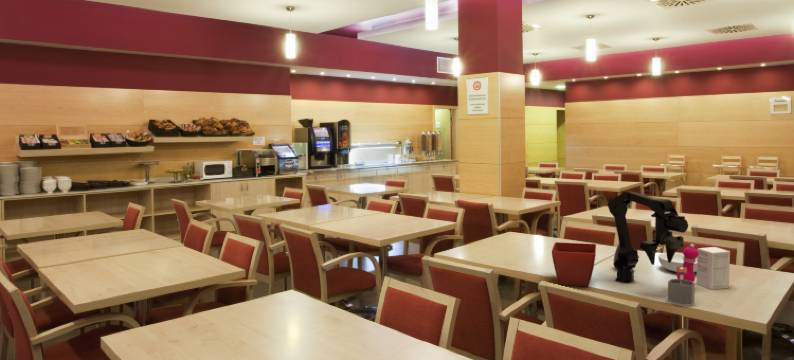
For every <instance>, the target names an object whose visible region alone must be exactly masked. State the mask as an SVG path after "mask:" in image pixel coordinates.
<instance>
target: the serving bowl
mask: <svg viewBox="0 0 794 360" xmlns="http://www.w3.org/2000/svg"><path fill="white" fill-rule="evenodd" d="M683 257H684V254H683V252H677V251H676V252H675V254H674V256H673V258H672V261H671V263H669V262H668V260H667V253H666V252H663V253H659V254H658V256H657V258H658V262H659V264H660V266H662V267H663V268H664V269H666V270H669V271H671V272H674V273H677V267H678V266H683V263H684V260H683ZM695 259H696V260H695V261H696V262H695V263H694V265H693V270H694V273H697V258H695Z"/></svg>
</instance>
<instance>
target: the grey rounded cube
mask: <svg viewBox="0 0 794 360" xmlns="http://www.w3.org/2000/svg"><path fill="white" fill-rule="evenodd" d="M677 282H678V283H680V279H678V278H671V279H669V280H668V281H667V303H669V304H671V305H673V306H677V307H678V306H680V307H692V306H694V305H695V294H696V291H695V289H696V287H695V284H696V283H695V282H691V281H689V280H683V283H686V284H689V285H678V284H674V283H677Z"/></svg>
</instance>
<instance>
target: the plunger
mask: <svg viewBox="0 0 794 360" xmlns="http://www.w3.org/2000/svg"><path fill="white" fill-rule="evenodd" d="M676 273H679V274H680V283H678V282H677V283H674V284H678V285H689V284H686V283H683V274H687V268H686V267H682V266H678V267H677V272H676Z"/></svg>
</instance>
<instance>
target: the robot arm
mask: <svg viewBox="0 0 794 360" xmlns="http://www.w3.org/2000/svg"><path fill="white" fill-rule="evenodd" d="M632 202H633V203H635V204H639V205H643V206H645V207H647V208H649V209H650V210H651V211H652V212H653V213H652V214H651V216H650V217H651V218H655V220H654V229H652V233H654V238H652V239H651V240H652V241H650V240H647V241H641V242H640V244H639V248H640V249H642V251H644V252H645V254H646V256H647V258H648V260H649V263H650V264H651V265H652V266H654V265H655V260H656V254H657V252H658V250H657V249H658V248H660V247H665V251H666V252H665V253H667V260H668V262H669V263H671V261H672V258H673V256H674V254H675V252H676V253H677V251H678V250H680V249H681V248H683V247H684V243H685V242H684V236H682V235H677V236H674V235H673V232H677V233H682V234H683V233H685V232H687V231H688V229H689V222H688V220H686V217H685V216H684V215H679V213H678V211H677V210H676V207H675V206H674V205H673V201H672V200H670V199H669V198H668V199H667V198H655V197H652V196H649V195H645V194H642V193H640V192H635V190H626V191H624V192H622V193H620V194H619V195H617V196H615V197H613V198H610V199H609V200H608V202H607V207H608V211H609V213H610V214H611V215H612V217H613V218H614V222H615V228H616V232H617V239H618V244H620V249H619V252H618V260H617V261H615V262H613V268H615V269H616V278H615V281H616V282H621V283H626V284H629V283H631V282H633V281H634V280H635V279H634V278H635V277H634V276H635V272H634V270H633V269H634V268H636V267H637V264H638V263H639V259H640V257H639V253H638V249H634V247H633V246H632V242H631V237H630V232H629V231H630V230H629V227H628V222H627V217H626V216H627V212H628V205H629V204H631V203H632Z"/></svg>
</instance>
